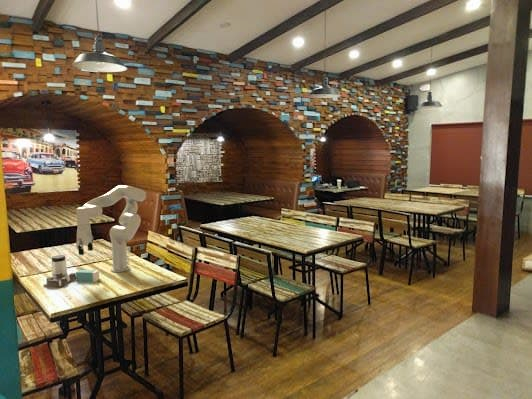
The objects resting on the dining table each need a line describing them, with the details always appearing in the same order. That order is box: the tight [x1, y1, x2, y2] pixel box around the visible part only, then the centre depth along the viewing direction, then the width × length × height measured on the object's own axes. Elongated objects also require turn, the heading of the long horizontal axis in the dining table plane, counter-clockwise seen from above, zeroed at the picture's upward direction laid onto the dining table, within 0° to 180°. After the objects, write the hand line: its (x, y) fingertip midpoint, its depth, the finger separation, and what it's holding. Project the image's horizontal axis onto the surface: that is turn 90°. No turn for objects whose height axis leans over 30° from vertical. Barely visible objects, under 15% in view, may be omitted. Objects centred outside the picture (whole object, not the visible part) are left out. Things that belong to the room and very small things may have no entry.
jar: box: [50, 254, 68, 276], centre depth 273 cm, size 9×8×12 cm
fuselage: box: [75, 269, 100, 283], centre depth 260 cm, size 13×5×6 cm, turn 84°
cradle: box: [43, 272, 76, 288], centre depth 257 cm, size 19×12×4 cm, turn 174°
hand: (86, 252), depth 256 cm, fingers open, 9 cm apart
